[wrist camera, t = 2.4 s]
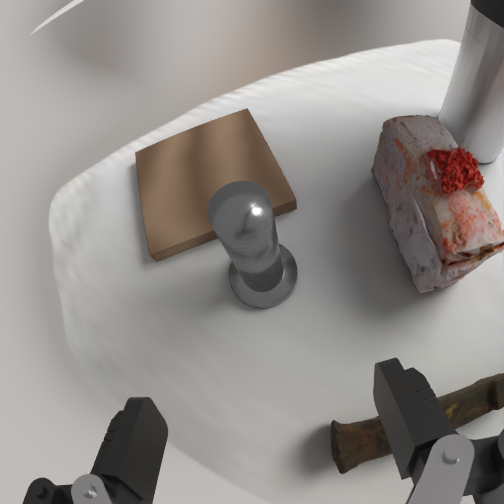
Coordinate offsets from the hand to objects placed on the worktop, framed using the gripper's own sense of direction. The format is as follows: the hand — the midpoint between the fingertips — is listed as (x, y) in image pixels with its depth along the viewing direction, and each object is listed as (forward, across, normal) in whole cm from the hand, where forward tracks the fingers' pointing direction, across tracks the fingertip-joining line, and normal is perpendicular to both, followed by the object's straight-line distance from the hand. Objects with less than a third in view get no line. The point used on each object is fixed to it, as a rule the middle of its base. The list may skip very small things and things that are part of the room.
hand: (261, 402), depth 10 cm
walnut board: (+24, +4, -5) cm, 25 cm away
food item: (+18, -15, +2) cm, 23 cm away
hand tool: (+6, -12, +13) cm, 19 cm away
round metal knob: (+16, 0, +3) cm, 17 cm away
